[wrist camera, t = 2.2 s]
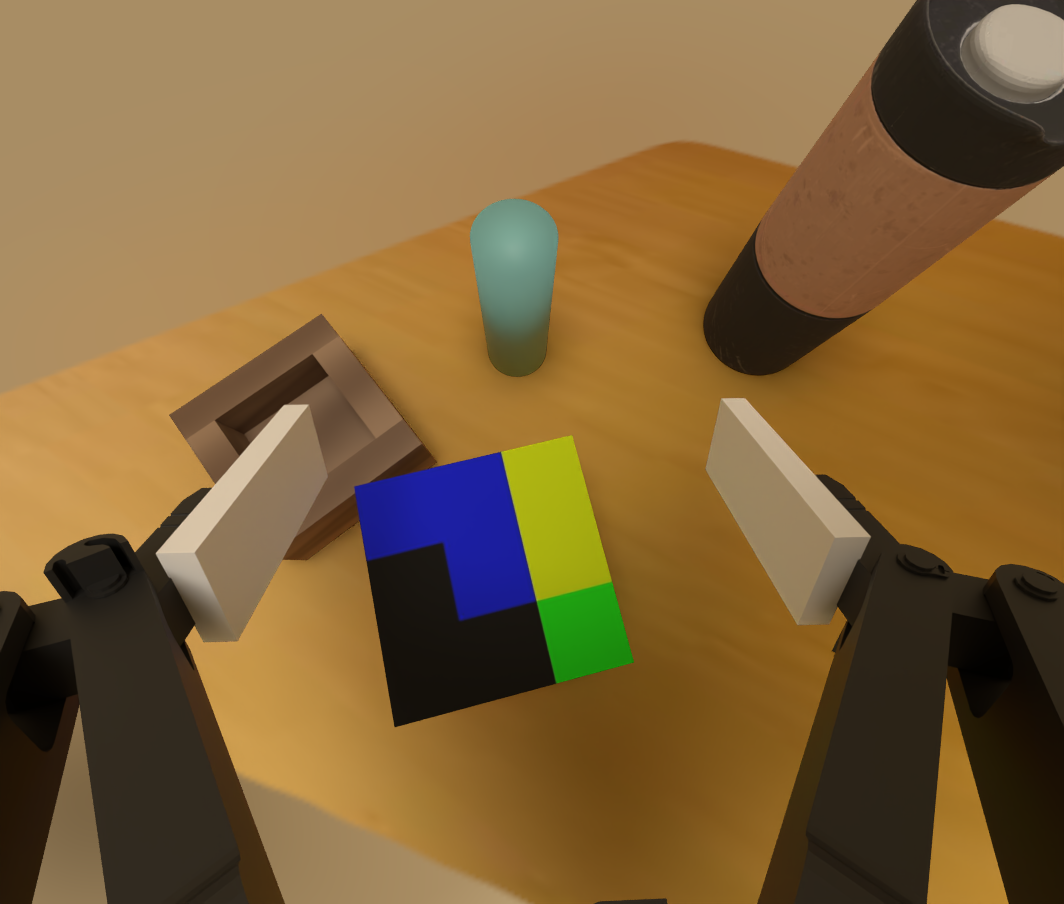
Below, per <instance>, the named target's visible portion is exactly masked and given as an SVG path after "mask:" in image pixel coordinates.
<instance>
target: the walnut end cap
mask: <svg viewBox="0 0 1064 904" xmlns="http://www.w3.org/2000/svg"><path fill="white" fill-rule="evenodd" d="M284 405H309V407H310V411H311V414H312V418H313V422H314V426H315V430H316V433H317V437H318V441H319V445H320V449H321V452H322V456H323V460H324V464H325V467H326V471H327V475H328V477H327V479H326V481H325V483H324V485H323V487H322V488H321V490H320V492H319V494H318V496H317V497H316V499H315V501H314V503H313V505H312V507H311V508H310V510H309V512H308V514H307V516H306V517H305V519H304V521H303V523H302V525H301V527H300V528H299V530H298V532H297V534H296V536H295V537H294V539H293V541H292V543H291V545H290V547H289V548H288V550H287V552H286V554H285V556H284V558H283V559H282V560H307V559H309V558H310V557H311V556H313V555H314V554H315V553H317V552H318V551H319V550H321V549H322V548H323V547H325V546H326V545H327V544H329V543H330V542H331V541H333V540H334V539H335V538H337V537H338V536H339V535H341V534H342V533H343V532H345V531H346V530H347V529H349V528H350V527H351V526H353V525H354V524H355V523H357V522H358V521H359V514H358V508H357V502H356V496H355V490H354V486H358V485H362V484H366V483H371V482H375V481H379V480H383V479H388V478H392V477H396V476H400V475H405V474H409V473H413V472H418V471H422V470H426V469H429V468H430V467H431V466H433V465H434V464H435V463H437V461H436V460H435V459H434V457H433V456H432V455H431V454H430V452H429V451H428V450H427V448H426V447H425V446H424V445H423V443H422V442H421V441H420V439H419V438H418V437H417V435H416V434H415V433H414V432H413V430H412V429H411V428H410V426H409V425H408V424H407V423H406V421H405V420H404V419H403V417H402V416H401V415H400V413H399V412H398V411H397V410H396V408H395V407H394V406H393V404H392V403H391V402H390V401H389V399H388V398H387V397H386V395H385V394H384V393H383V391H382V390H381V389H380V388H379V386H378V385H377V384H376V382H375V381H374V380H373V379H372V377H371V376H370V375H369V373H368V372H367V371H366V369H365V368H364V367H363V366H362V364H361V363H360V362H359V360H358V359H357V358H356V357H355V355H354V354H353V353H352V351H351V350H350V349H349V348H348V346H347V345H346V344H345V343H344V341H343V340H342V339H341V338H340V336H339V335H338V334H337V332H336V331H335V330H334V329H333V327H332V326H331V325H330V324H329V322H328V321H327V320H326V319H325V317H324V316H323V315H322V314H320V315H319V316H317V317H316V318H314V319H313V320H311V321H310V322H308V323H307V324H305V325H304V326H302V327H301V328H299V329H298V330H296V331H295V332H293V333H292V334H290V335H289V336H287V337H286V338H284V339H283V340H281V341H280V342H278V343H277V344H275V345H274V346H272V347H271V348H269V349H268V350H266V351H265V352H263V353H262V354H260V355H259V356H257V357H256V358H254V359H253V360H251V361H250V362H248V363H247V364H245V365H244V366H242V367H241V368H239V369H238V370H236V371H235V372H233V373H232V374H230V375H229V376H227V377H226V378H224V379H223V380H221V381H220V382H218V383H217V384H215V385H214V386H212V387H211V388H209V389H208V390H206V391H205V392H203V393H202V394H200V395H199V396H197V397H196V398H194V399H193V400H191V401H190V402H188V403H187V404H185V405H184V406H182V407H181V408H179V409H178V410H176V411H175V412H173V413H172V414H170V415H169V416H170V417H171V419H172V420H173V422H174V423H175V425H176V426H177V428H178V429H179V431H180V432H181V434H182V435H183V437H184V438H185V440H186V441H187V442H188V444H189V445H190V447H191V448H192V450H193V451H194V453H195V454H196V456H197V457H198V459H199V460H200V462H201V463H202V465H203V466H204V468H205V469H206V471H207V472H208V474H209V475H210V477H211V478H212V480H213V481H214V483H215V484H216V483H217V482H218V481H219V480H220V478H221V477H222V476H223V475H224V474H225V473H226V472H227V470H228V469H229V468H230V467H231V466H232V465H233V463H234V462H235V461H236V460H237V459H238V458H239V457H240V455H241V454H242V453H243V452H244V451H245V450H246V448H247V447H248V446H249V445H250V444H251V443H252V442H253V440H254V439H255V438H256V437H257V436H258V435H259V433H260V432H261V431H262V430H263V429H264V428H265V427H266V425H267V424H268V423H269V422H270V421H271V420H272V418H273V417H274V416H275V415H276V414H277V413H278V411H279V410H280V409H281V408H282V407H283V406H284Z"/></svg>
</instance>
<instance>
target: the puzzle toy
mask: <svg viewBox="0 0 1064 904" xmlns="http://www.w3.org/2000/svg"><path fill="white" fill-rule="evenodd" d="M354 490H355V496H356V502H357V508H358V514H359V520H360V525H361V531H362V537H363V543H364V549H365V555H366V561H367V567H368V573H369V579H370V585H371V590H372V596H373V602H374V608H375V614H376V620H377V626H378V632H379V638H380V644H381V650H382V655H383V661H384V667H385V673H386V679H387V685H388V691H389V697H390V703H391V709H392V715H393V720H394V726H395V727H398V726H401V725H405V724H409V723H412V722H416V721H420V720H423V719H427V718H431V717H435V716H438V715H442V714H446V713H449V712H453V711H457V710H460V709H464V708H468V707H471V706H475V705H479V704H483V703H486V702H490V701H494V700H497V699H501V698H505V697H508V696H512V695H516V694H519V693H523V692H527V691H531V690H534V689H538V688H542V687H545V686H549V685H553V684H556V683H560V682H564V681H567V680H571V679H575V678H579V677H582V676H586V675H590V674H593V673H597V672H601V671H604V670H608V669H612V668H615V667H619V666H623V665H627V664H630V663H634V660H633V657H632V653H631V649H630V646H629V642H628V638H627V635H626V631H625V627H624V624H623V620H622V616H621V613H620V609H619V605H618V602H617V598H616V594H615V591H614V587H613V583H612V580H611V576H610V572H609V569H608V565H607V561H606V558H605V554H604V550H603V547H602V543H601V539H600V536H599V532H598V528H597V525H596V521H595V517H594V514H593V510H592V506H591V503H590V499H589V495H588V492H587V488H586V484H585V481H584V477H583V473H582V470H581V466H580V462H579V459H578V455H577V451H576V448H575V444H574V440H573V437H572V435H571V436H566V437H562V438H558V439H554V440H549V441H545V442H541V443H537V444H532V445H528V446H524V447H520V448H515V449H511V450H507V451H503V452H498V453H494V454H490V455H486V456H481V457H477V458H473V459H469V460H464V461H460V462H456V463H452V464H447V465H443V466H439V467H435V468H430V469H426V470H422V471H418V472H413V473H409V474H405V475H400V476H396V477H392V478H388V479H383V480H379V481H375V482H371V483H366V484H362V485H358V486H354Z"/></svg>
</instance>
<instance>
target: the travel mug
mask: <svg viewBox="0 0 1064 904" xmlns="http://www.w3.org/2000/svg"><path fill="white" fill-rule="evenodd" d="M1063 166H1064V0H917V1H916V2H915V4H914V5H913V6H912V8H911V9H910V11H909V12H908V14H907V15H906V16H905V18H904V19H903V21H902V22H901V23H900V25H899V26H898V28H897V29H896V30H895V32H894V33H893V35H892V36H891V37H890V39H889V40H888V42H887V43H886V45H885V46H884V48H883V49H882V50H881V52H880V53H879V55H878V56H877V57H876V59H875V60H874V61H873V63H872V65H871V66H870V67H869V69H868V70H867V71H866V73H865V74H864V76H863V77H862V79H861V80H860V81H859V83H858V84H857V85H856V87H855V88H854V90H853V91H852V93H851V94H850V95H849V97H848V98H847V100H846V101H845V102H844V104H843V105H842V107H841V108H840V110H839V111H838V112H837V114H836V115H835V117H834V118H833V119H832V121H831V123H830V124H829V125H828V126H827V128H826V129H825V131H824V132H823V133H822V135H821V136H820V138H819V139H818V141H817V142H816V144H815V145H814V146H813V148H812V149H811V151H810V152H809V153H808V155H807V156H806V158H805V159H804V161H803V162H802V163H801V165H800V166H799V167H798V169H797V170H796V172H795V173H794V174H793V176H792V177H791V179H790V180H789V182H788V183H787V184H786V186H785V187H784V189H783V190H782V191H781V193H780V194H779V196H778V197H777V198H776V200H775V201H774V203H773V204H772V206H771V207H770V208H769V210H768V211H767V213H766V214H765V216H764V217H763V219H762V220H761V222H760V223H759V225H758V226H757V228H756V230H755V231H754V233H753V234H752V236H751V237H750V239H749V241H748V242H747V244H746V245H745V247H744V248H743V250H742V252H741V253H740V255H739V256H738V258H737V259H736V261H735V263H734V264H733V266H732V267H731V269H730V270H729V272H728V274H727V275H726V277H725V278H724V280H723V281H722V283H721V285H720V286H719V288H718V289H717V291H716V292H715V294H714V296H713V297H712V299H711V301H710V302H709V304H708V307H707V309H706V312H705V316H704V333H705V337H706V340H707V342H708V344H709V346H710V348H711V350H712V351H713V353H714V354H715V355H716V356H717V357H718V358H719V359H720V360H721V361H722V362H723V363H725V364H726V365H727V366H729V367H731V368H732V369H735V370H737V371H739V372H742V373H746V374H751V375H766V374H771V373H775V372H778V371H780V370H782V369H784V368H786V367H788V366H789V365H791V364H792V363H794V362H795V361H797V360H798V359H800V358H801V357H803V356H804V355H806V354H807V353H809V352H810V351H812V350H813V349H815V348H816V347H817V346H819V345H820V344H822V343H823V342H825V341H826V340H828V339H829V338H831V337H832V336H834V335H835V334H837V333H838V332H840V331H841V330H842V329H844V328H845V327H847V326H848V325H850V324H851V323H853V322H854V321H856V320H857V319H859V318H860V317H862V316H863V315H865V314H866V313H868V312H869V311H870V310H872V309H873V308H875V307H876V306H878V305H879V304H880V303H882V302H883V301H884V300H886V299H887V298H888V297H890V296H891V295H892V294H894V293H895V292H896V291H898V290H899V289H900V288H902V287H903V286H904V285H906V284H907V283H908V282H910V281H911V280H912V279H914V278H915V277H916V276H918V275H919V274H920V273H922V272H923V271H924V270H926V269H927V268H928V267H930V266H931V265H932V264H934V263H935V262H936V261H938V260H939V259H940V258H942V257H943V256H944V255H946V254H947V253H948V252H950V251H951V250H952V249H954V248H955V247H956V246H958V245H959V244H960V243H962V242H963V241H964V240H966V239H967V238H968V237H970V236H971V235H972V234H974V233H975V232H976V231H978V230H979V229H980V228H982V227H983V226H984V225H986V224H987V223H988V222H990V221H991V220H992V219H994V218H995V217H996V216H997V215H999V214H1000V213H1002V212H1003V211H1004V210H1006V209H1007V208H1008V207H1010V206H1011V205H1012V204H1014V203H1015V202H1016V201H1018V200H1019V199H1020V198H1022V197H1023V196H1024V195H1026V194H1027V193H1028V192H1029V191H1031V190H1032V189H1034V188H1035V187H1036V186H1037V185H1039V184H1040V183H1042V182H1043V181H1044V180H1046V179H1047V178H1048V177H1050V176H1051V175H1052V174H1054V173H1055V172H1056V171H1057V170H1059V169H1060V168H1062V167H1063Z"/></svg>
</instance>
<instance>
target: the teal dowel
mask: <svg viewBox="0 0 1064 904" xmlns="http://www.w3.org/2000/svg"><path fill="white" fill-rule="evenodd" d="M470 243H471V249H472V255H473V261H474V268H475V274H476V280H477V286H478V292H479V299H480V305H481V311H482V317H483V323H484V329H485V336H486V342H487V348H488V354H489V358H490V360H491V362H492V364H493V365H494V366H495V368H496V369H498V370H499V371H500V372H502V373H504V374H506V375H509V376H515V377H519V376H525V375H528V374H531V373H533V372H534V371H536V370H537V369H538V368H539V367H540V366H541V364H542V363H543V361H544V358H545V355H546V348H547V339H548V329H549V320H550V311H551V302H552V292H553V283H554V274H555V265H556V256H557V246H558V231H557V227H556V224H555V222H554V220H553V219H552V217H551V216H550V215H549V213H548V212H547V211H545V210H544V209H543V208H542V207H540V206H539V205H537V204H535V203H533V202H530V201H527V200H522V199H506V200H501V201H498V202H496V203H493V204H491V205H489V206H488V207H486V208H485V209H484V210H482V211H481V212H480V213H479V215H478V216H477V217H476V219H475V221H474V222H473V225H472V228H471V232H470Z"/></svg>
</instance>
